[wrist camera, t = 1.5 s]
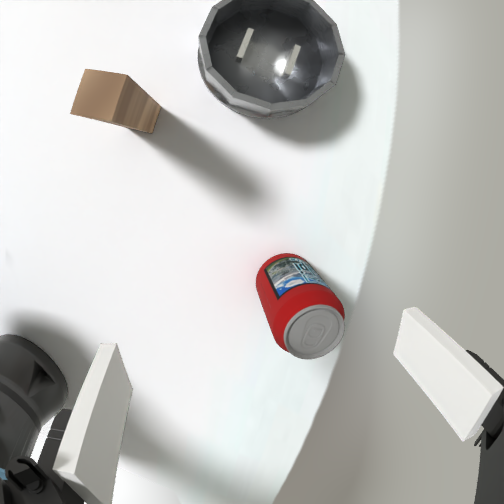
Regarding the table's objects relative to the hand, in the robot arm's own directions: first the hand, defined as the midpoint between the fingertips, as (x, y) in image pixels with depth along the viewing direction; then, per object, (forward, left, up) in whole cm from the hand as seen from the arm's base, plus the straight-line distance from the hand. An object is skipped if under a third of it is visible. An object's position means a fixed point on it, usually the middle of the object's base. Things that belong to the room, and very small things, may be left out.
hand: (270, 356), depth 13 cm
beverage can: (+7, -4, -22) cm, 23 cm away
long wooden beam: (-13, +9, -22) cm, 27 cm away
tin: (-3, +19, -22) cm, 29 cm away
